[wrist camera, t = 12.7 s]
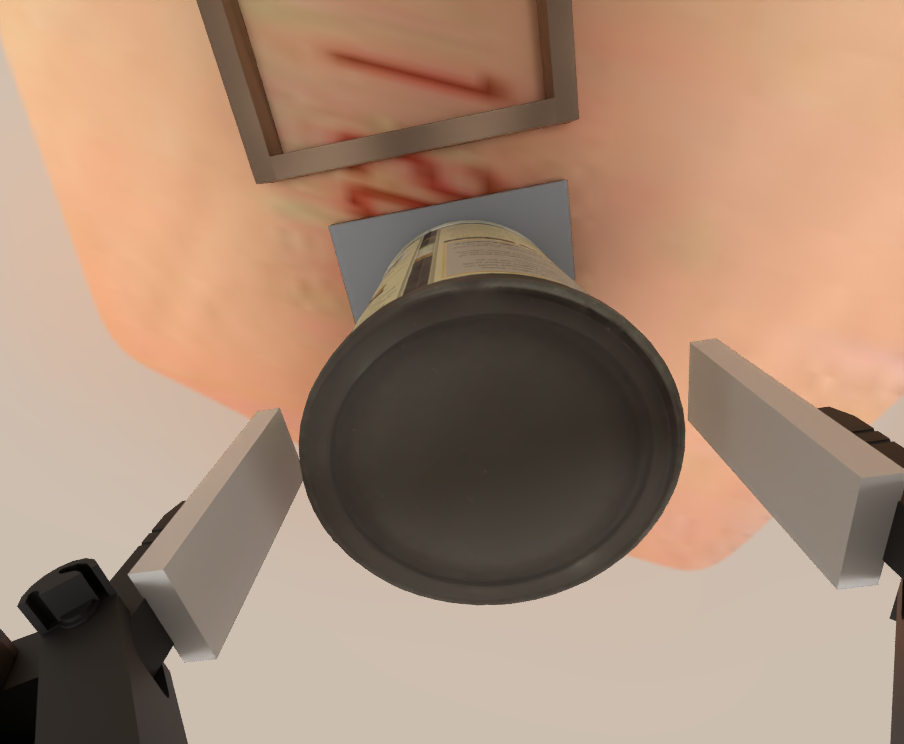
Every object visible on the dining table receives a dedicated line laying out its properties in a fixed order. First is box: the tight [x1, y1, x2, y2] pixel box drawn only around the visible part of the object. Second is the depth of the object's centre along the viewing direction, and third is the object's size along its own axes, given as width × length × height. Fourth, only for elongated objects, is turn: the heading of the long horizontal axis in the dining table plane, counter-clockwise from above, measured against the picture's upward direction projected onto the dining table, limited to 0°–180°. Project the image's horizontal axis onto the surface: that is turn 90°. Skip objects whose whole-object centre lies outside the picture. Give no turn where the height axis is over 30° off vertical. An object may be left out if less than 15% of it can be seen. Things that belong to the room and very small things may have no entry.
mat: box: [328, 180, 575, 324], centre depth 26 cm, size 12×12×1 cm
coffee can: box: [299, 220, 685, 605], centre depth 19 cm, size 10×10×14 cm
